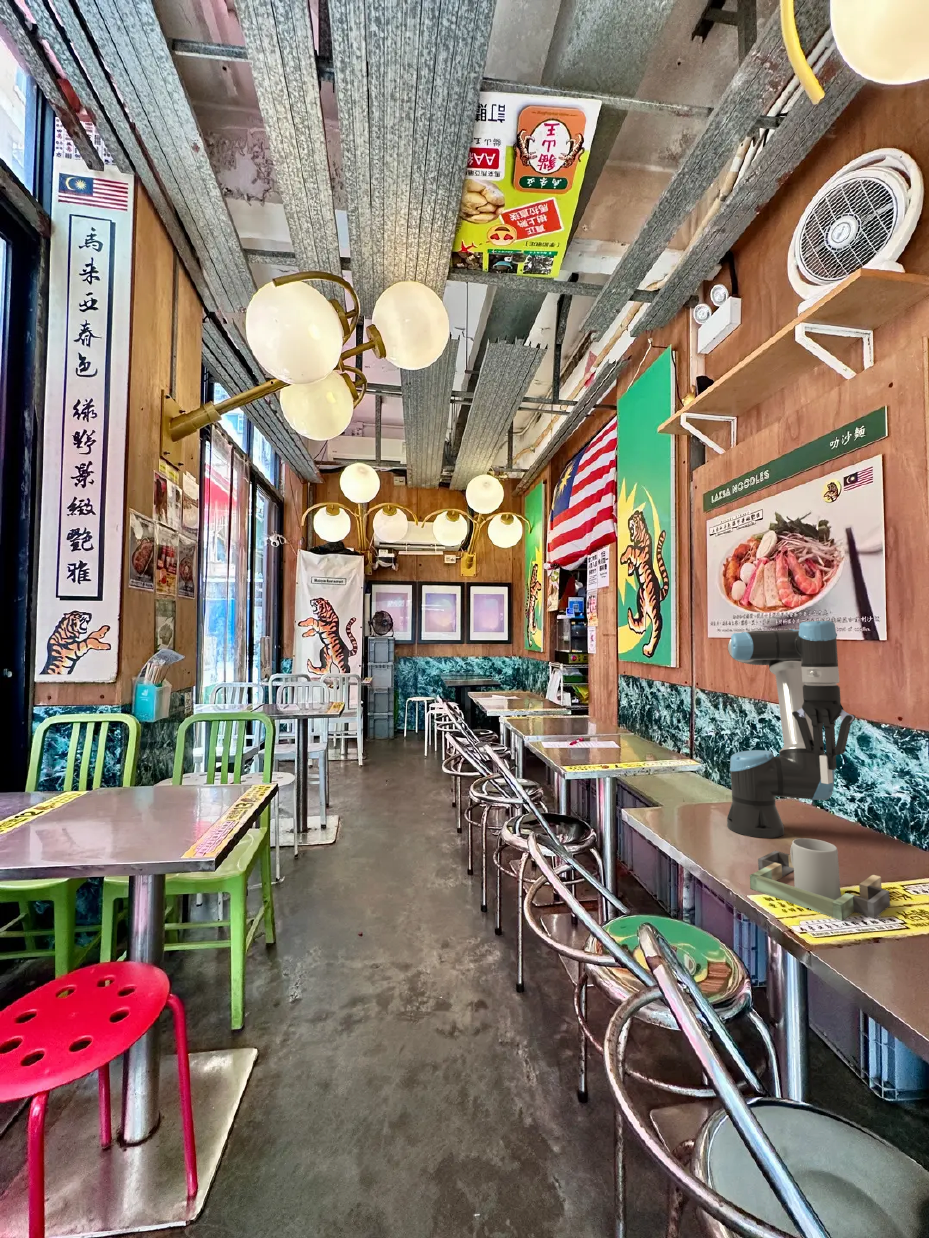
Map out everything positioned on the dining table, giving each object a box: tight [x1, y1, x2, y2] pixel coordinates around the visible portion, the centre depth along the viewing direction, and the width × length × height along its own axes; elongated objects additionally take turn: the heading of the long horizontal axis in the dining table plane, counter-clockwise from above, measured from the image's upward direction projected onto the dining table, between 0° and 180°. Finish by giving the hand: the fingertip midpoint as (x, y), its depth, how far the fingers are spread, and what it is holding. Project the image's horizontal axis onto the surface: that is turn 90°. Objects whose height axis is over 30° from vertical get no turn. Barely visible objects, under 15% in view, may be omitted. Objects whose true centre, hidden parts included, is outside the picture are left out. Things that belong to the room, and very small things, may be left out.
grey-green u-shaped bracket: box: [749, 850, 891, 921], centre depth 118 cm, size 22×25×3 cm
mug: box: [789, 837, 842, 900], centre depth 117 cm, size 12×8×11 cm
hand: (827, 782), depth 125 cm, fingers closed
